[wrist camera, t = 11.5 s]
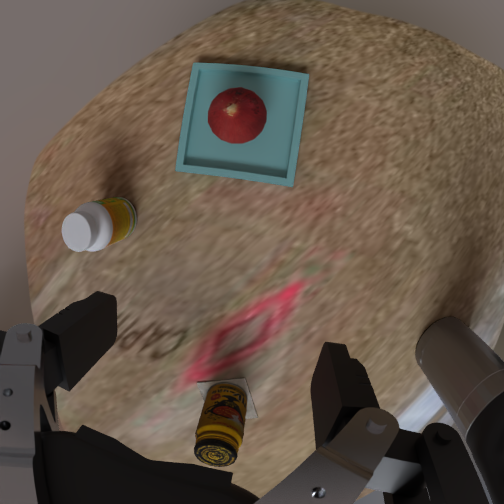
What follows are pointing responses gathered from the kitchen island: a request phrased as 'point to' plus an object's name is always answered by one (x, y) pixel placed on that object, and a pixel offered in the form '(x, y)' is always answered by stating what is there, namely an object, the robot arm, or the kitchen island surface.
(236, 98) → the dark red rounded piece
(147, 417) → the kitchen island surface
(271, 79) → the tray
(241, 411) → the condiment
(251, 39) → the kitchen island surface
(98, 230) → the supplement bottle
